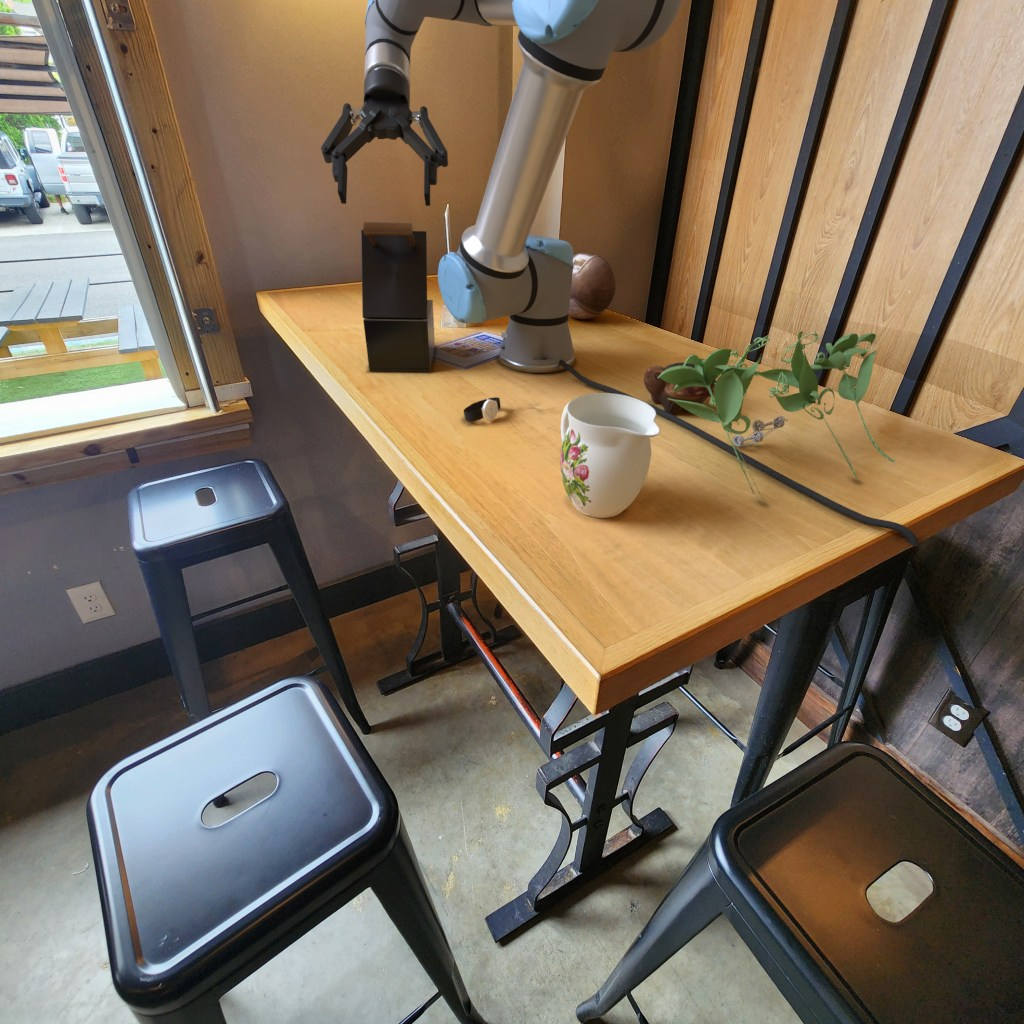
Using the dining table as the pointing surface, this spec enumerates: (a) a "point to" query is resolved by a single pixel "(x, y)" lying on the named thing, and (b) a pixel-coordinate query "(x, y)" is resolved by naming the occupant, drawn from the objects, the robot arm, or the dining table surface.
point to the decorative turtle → (664, 390)
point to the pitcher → (605, 451)
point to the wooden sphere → (590, 286)
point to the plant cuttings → (802, 376)
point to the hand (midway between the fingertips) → (384, 199)
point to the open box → (400, 343)
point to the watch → (482, 409)
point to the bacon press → (393, 271)
